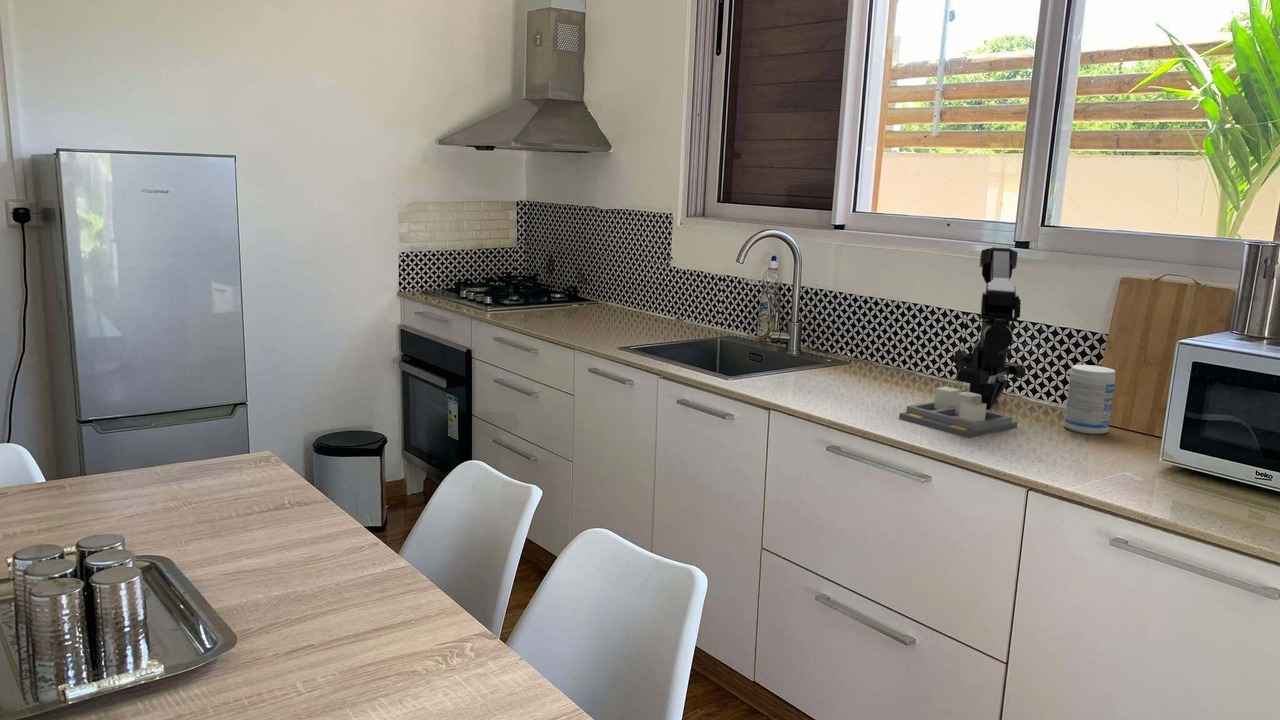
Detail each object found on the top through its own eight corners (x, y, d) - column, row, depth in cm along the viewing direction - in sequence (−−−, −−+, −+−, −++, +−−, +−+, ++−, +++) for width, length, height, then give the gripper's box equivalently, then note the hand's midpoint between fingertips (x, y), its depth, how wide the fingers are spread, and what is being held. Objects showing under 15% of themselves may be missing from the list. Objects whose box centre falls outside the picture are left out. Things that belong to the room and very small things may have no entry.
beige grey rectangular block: (943, 406, 233) (946, 386, 232) (957, 409, 230) (960, 389, 229) (933, 408, 231) (935, 388, 230) (947, 411, 227) (949, 391, 227)
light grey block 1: (965, 411, 228) (967, 391, 227) (979, 415, 225) (981, 395, 224) (954, 413, 226) (957, 393, 225) (969, 417, 223) (971, 396, 222)
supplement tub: (1110, 437, 216) (1119, 374, 213) (1065, 432, 219) (1074, 370, 216) (1104, 427, 225) (1112, 366, 222) (1061, 422, 228) (1068, 362, 225)
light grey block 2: (968, 421, 219) (971, 400, 218) (984, 425, 216) (986, 403, 215) (958, 423, 217) (960, 402, 216) (973, 427, 214) (976, 405, 213)
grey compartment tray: (948, 409, 237) (949, 398, 236) (1017, 427, 222) (1018, 415, 221) (899, 418, 226) (900, 407, 225) (968, 437, 211) (969, 426, 210)
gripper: (988, 334, 228) (980, 397, 231) (939, 340, 217) (932, 406, 221) (1030, 342, 220) (1022, 407, 223) (982, 348, 209) (974, 417, 212)
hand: (987, 409), depth 220 cm, fingers closed
